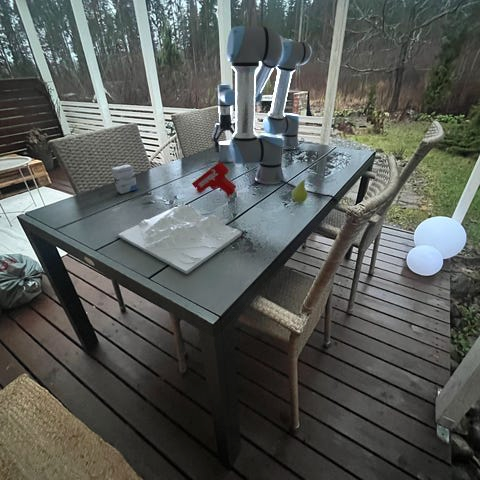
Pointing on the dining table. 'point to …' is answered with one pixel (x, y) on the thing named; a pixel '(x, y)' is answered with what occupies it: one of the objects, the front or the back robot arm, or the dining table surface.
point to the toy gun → (215, 180)
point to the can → (225, 152)
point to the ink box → (124, 178)
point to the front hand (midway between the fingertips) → (226, 150)
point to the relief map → (181, 237)
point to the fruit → (300, 192)
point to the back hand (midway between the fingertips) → (250, 92)
